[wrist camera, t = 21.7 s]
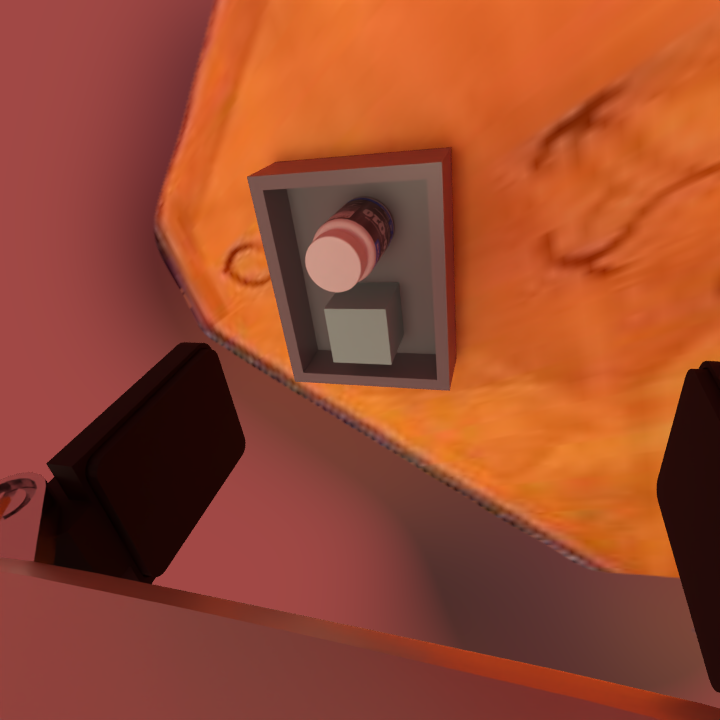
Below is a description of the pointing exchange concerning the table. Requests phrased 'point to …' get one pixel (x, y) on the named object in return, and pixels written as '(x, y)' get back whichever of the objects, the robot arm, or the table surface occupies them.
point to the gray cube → (365, 323)
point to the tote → (397, 264)
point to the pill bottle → (349, 244)
